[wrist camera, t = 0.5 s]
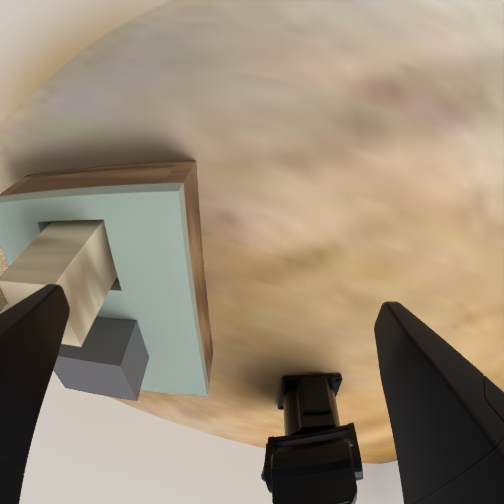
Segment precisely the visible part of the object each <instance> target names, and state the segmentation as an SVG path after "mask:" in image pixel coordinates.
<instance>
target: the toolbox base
mask: <svg viewBox="0 0 504 504" xmlns="http://www.w3.org/2000/svg"><path fill="white" fill-rule="evenodd" d="M159 183H183V184H184V196H185V207H186V218H187V228H188V238H189V247H190V256H191V265H192V273H193V281H194V289H195V297H196V305H197V312H198V319H199V326H200V333H201V340H202V346H203V353H204V359H205V365H206V371H207V377H208V383H209V380H210V372H211V364H212V356H213V347H212V338H211V330H210V321H209V312H208V302H207V293H206V283H205V272H204V261H203V250H202V238H201V226H200V212H199V198H198V183H197V166H196V161H188V162H162V163H144V164H129V165H115V166H104V167H93V168H83V169H74V170H65V171H57V172H49V173H41V174H34V175H28V176H26V177H24V178H23V179H21V180H20V181H18V182H17V183H15V184H14V185H12V186H11V187H10V188H8V189H7V190H5V191H4V192H3V193H1V194H0V196H6V195H14V194H23V193H32V192H41V191H51V190H62V189H73V188H86V187H100V186H116V185H135V184H159ZM51 222H52V221H49V224H50V223H51ZM116 279H118V276H117V278H116Z"/></svg>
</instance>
